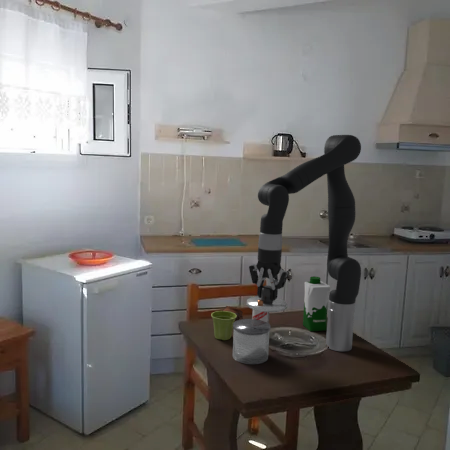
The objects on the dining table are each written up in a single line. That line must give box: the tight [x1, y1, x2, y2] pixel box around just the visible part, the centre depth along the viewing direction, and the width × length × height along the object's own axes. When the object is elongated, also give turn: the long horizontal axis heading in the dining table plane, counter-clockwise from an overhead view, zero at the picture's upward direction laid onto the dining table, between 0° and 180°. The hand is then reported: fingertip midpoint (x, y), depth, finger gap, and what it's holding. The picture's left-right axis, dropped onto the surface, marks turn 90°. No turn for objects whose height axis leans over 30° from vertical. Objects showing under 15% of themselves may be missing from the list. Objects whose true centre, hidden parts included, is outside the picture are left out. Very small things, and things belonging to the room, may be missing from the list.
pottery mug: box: [222, 305, 244, 322], centre depth 194 cm, size 12×10×8 cm
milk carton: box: [302, 276, 332, 332], centre depth 193 cm, size 9×9×20 cm
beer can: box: [251, 295, 270, 324], centre depth 180 cm, size 6×6×16 cm
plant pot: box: [210, 310, 237, 341], centre depth 180 cm, size 9×9×9 cm
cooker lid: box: [246, 285, 288, 313], centre depth 158 cm, size 13×13×6 cm
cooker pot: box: [232, 318, 272, 365], centre depth 164 cm, size 13×13×11 cm
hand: (266, 298), depth 158 cm, fingers closed on cooker lid, 4 cm apart
